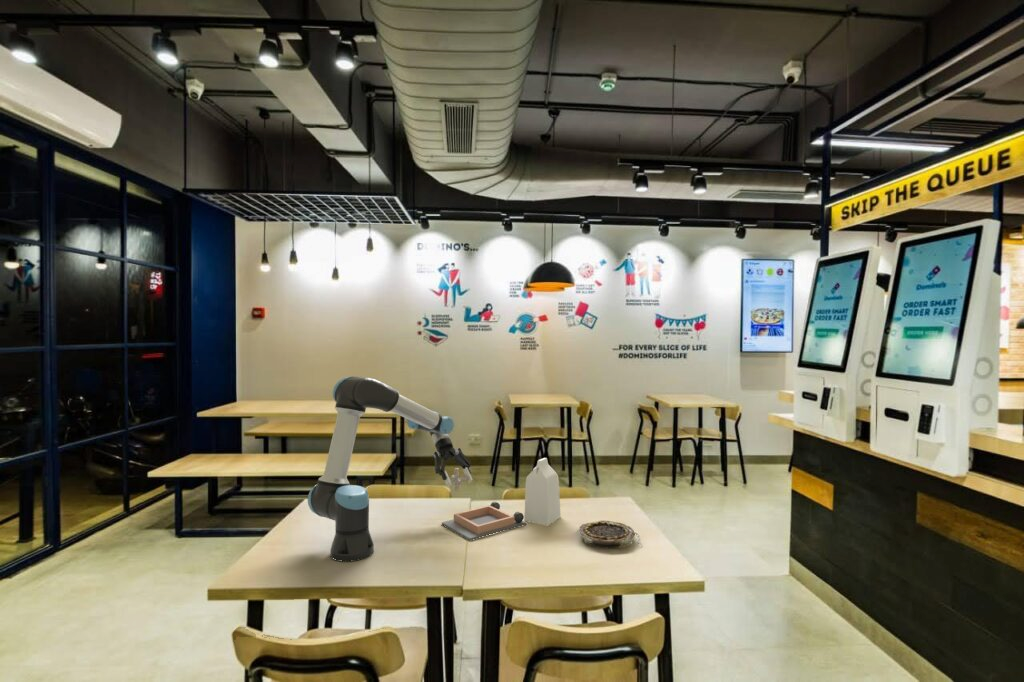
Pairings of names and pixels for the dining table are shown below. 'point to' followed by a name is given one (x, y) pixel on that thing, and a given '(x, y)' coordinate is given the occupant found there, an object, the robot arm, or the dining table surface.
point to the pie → (607, 534)
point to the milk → (542, 495)
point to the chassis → (483, 521)
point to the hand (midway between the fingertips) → (460, 483)
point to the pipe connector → (457, 479)
